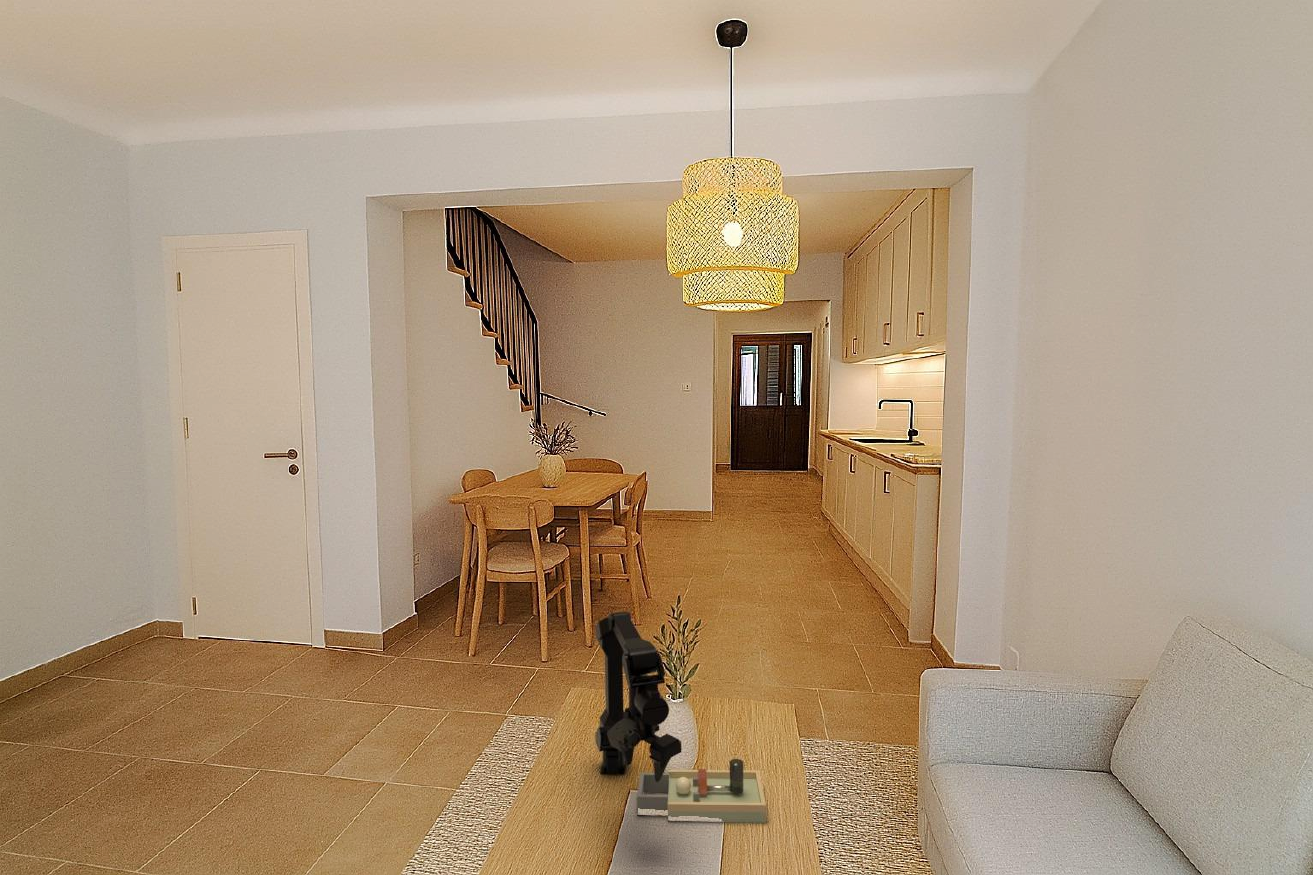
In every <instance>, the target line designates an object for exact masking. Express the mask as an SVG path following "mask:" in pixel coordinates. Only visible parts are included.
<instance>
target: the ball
mask: <svg viewBox="0 0 1313 875" xmlns="http://www.w3.org/2000/svg"><path fill="white" fill-rule="evenodd" d="M690 788H691V783H690V781H689V779H687V778H686V777H681V778H679V779H678V780H677V781H676V790H677V791H678V792H679V793H680V794H686V793H688V792H689V791H690Z"/></svg>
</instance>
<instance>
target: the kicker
mask: <svg viewBox="0 0 1313 875" xmlns="http://www.w3.org/2000/svg"><path fill="white" fill-rule="evenodd" d="M697 770H698V792H699V794H707V791H730V792H731V793H733V794H741V793H743V791H744V785H743V770H744V761H743V760H742V759H739V758H732V759H731V760H729V770H730V786H721V785H707V772H706V770H707V769H706V768H698V769H697Z"/></svg>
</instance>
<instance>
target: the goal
mask: <svg viewBox="0 0 1313 875" xmlns="http://www.w3.org/2000/svg"><path fill="white" fill-rule="evenodd" d="M637 787H638V788H637V793H636V794H637V795H636V796H637V797H636V801H637V802H636V804H637V805H636V806H637V808H640V809H655V810H664V811H665V810H668V792H669V772H664V773H663V775H662V777H661V780H660V781H659V782H656V781H655V776H654V772H641V771H640V772H639V778H638V786H637ZM644 792H650V793H646V794H645V793H644ZM643 793H644V794H643ZM637 808H636V809H637Z"/></svg>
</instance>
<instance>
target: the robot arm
mask: <svg viewBox="0 0 1313 875" xmlns="http://www.w3.org/2000/svg"><path fill="white" fill-rule="evenodd" d="M595 626H596V627H595V637H596V640H597V642H598V646H600V648H601V650H602V651H603V653H604V684H605V686H604V688H605V708H604V710H603V712H602V713H601V715H600V717H599V727H597V729H596V732H595V735H594V736H595V737H594V738H595V744H596V747H597V750H598V751H599V752H602V761H601V765H600V770H599V774H600V775H625V774H626V773H627V767H628V766H630V765H632V762H633V759H634V758H633V757H634V750H635V748H636V747H637V745H639V743H640V742H641V741H643V742H645V743H647V744H649V753H650V755H649V759H651V760H652V762H653V773H654V776H655V781H656V782H659V781H660V780H661V777H662V775H663V773H665V771H666V768H667V766H668V765H669V762H670V760H672V758H673V757H676V755H679V754H680V753H682V741H681V740H680V739H679V738H677V737H674V736H673V735H671V734H668V733H665V734H663V735H662V736H658V735H656V733H657V732H659V731H660V725H661V724H662V723H664V722H665V721H666V720H667V718H668V716H669V713H670V708H669V705H668V702H667V701H666V699H665V698H664V696H663V695H662V693H660V691H659V685H661V684H665V682H666V681H665V676H666V672H665V667H664V663H663V660H662V656H661V654H660V652H659V650H658V649H656V647H655V645H654V644H653V643H652V642H651V641H649V640H646V639H643V638H642V636H641V635H640V633H639V631H638V629H637V628H636V627H635V624H634V623H633V621H632V614H631V613H630V612H629V611H628V612H627V611H619V612H618V611H617V612H611V613H609V614H608V616H607V617H605V618H603V619H601V620H599V621H598V622H597V623H596V625H595ZM655 673H657V674H655ZM649 674H651V675H649ZM624 676H625V680H626V684H627V687H628V707H626V708H624Z"/></svg>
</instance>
